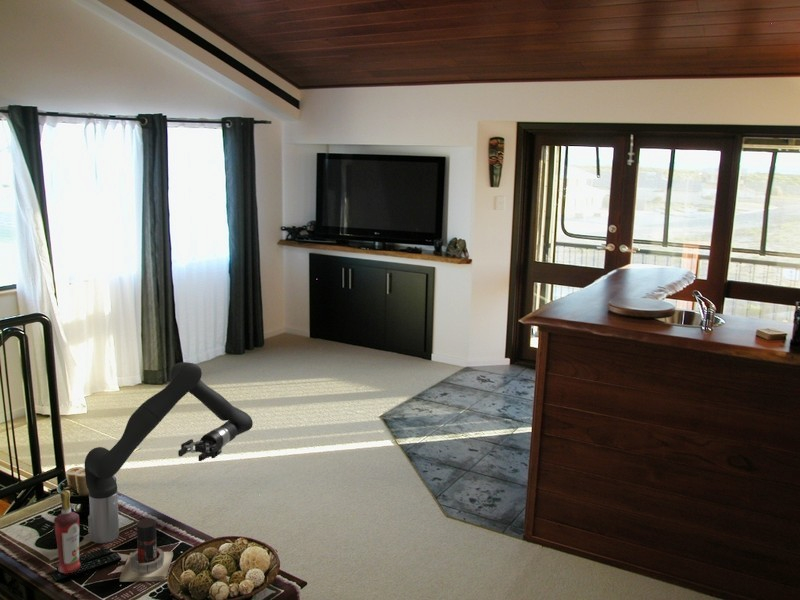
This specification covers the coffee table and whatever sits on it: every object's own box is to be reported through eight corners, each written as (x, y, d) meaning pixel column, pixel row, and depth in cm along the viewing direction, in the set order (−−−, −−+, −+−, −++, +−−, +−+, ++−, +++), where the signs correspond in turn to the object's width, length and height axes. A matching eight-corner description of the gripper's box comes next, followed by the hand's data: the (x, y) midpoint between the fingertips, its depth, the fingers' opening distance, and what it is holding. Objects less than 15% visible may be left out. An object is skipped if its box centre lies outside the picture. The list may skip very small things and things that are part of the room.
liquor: (72, 561, 233) (68, 484, 227) (86, 568, 229) (82, 491, 224) (52, 571, 227) (47, 493, 221) (66, 579, 223) (61, 500, 217)
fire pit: (119, 581, 224) (119, 569, 223) (130, 556, 237) (130, 544, 236) (164, 580, 225) (164, 567, 224) (173, 555, 239) (172, 543, 238)
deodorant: (140, 558, 234) (139, 518, 230) (159, 558, 234) (157, 518, 231) (135, 569, 228) (134, 527, 225) (154, 569, 228) (153, 527, 225)
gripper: (199, 427, 264) (172, 442, 249) (231, 433, 260) (206, 450, 245) (199, 445, 266) (172, 462, 251) (231, 452, 261) (206, 470, 246)
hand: (189, 456), depth 248 cm, fingers open, 8 cm apart
